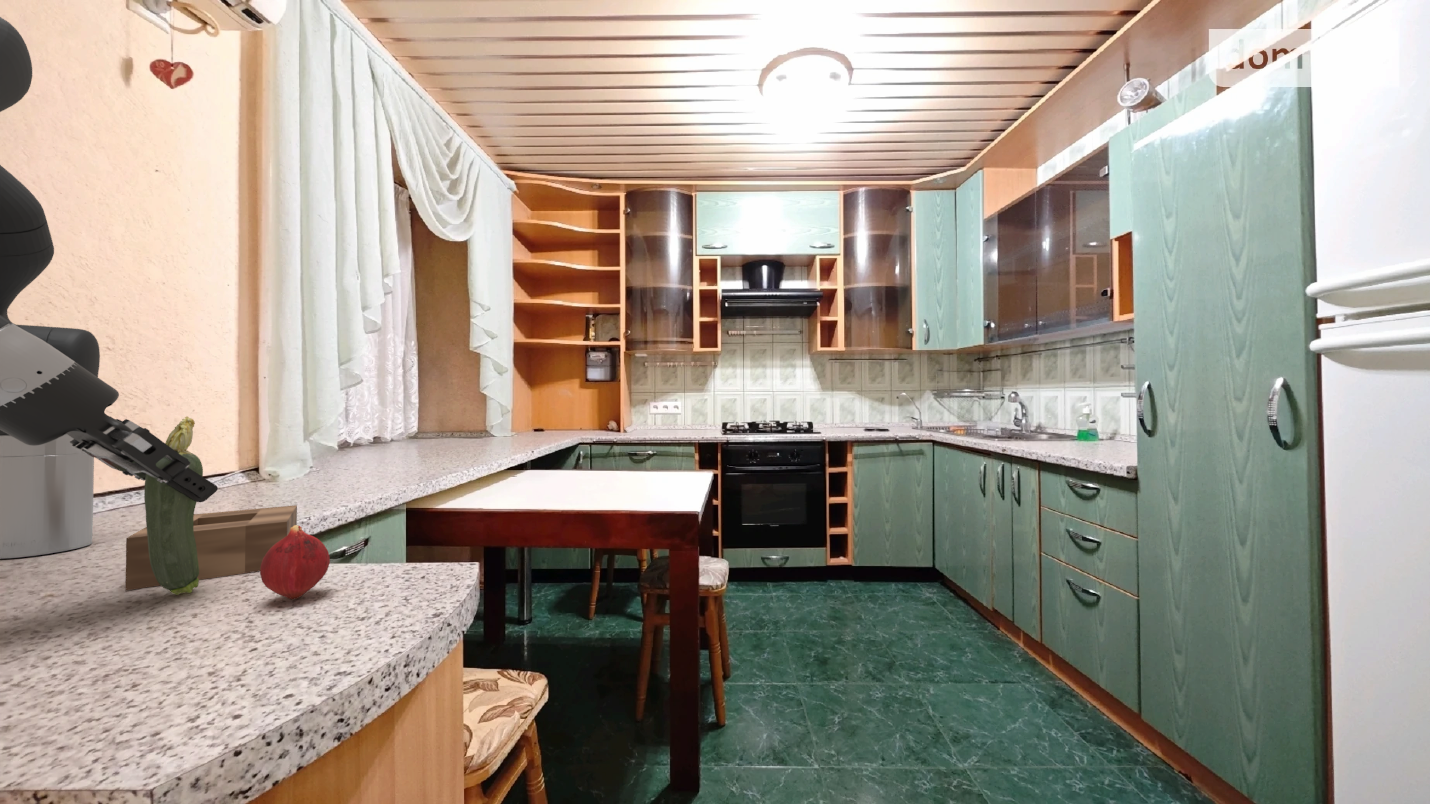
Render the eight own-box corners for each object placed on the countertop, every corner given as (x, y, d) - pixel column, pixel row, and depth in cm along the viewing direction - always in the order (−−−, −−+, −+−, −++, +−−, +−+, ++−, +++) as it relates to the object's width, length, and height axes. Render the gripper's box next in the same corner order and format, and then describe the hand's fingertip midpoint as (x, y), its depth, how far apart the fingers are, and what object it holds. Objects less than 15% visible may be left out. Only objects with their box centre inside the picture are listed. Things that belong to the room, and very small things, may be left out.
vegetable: (159, 605, 52) (165, 417, 52) (129, 601, 53) (134, 416, 53) (210, 590, 56) (215, 416, 56) (181, 587, 57) (186, 415, 57)
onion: (340, 594, 55) (341, 522, 55) (277, 613, 50) (278, 534, 50) (311, 586, 58) (312, 518, 58) (248, 603, 52) (249, 528, 52)
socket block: (163, 560, 68) (164, 516, 68) (296, 543, 76) (296, 505, 76) (125, 590, 56) (126, 538, 56) (286, 567, 65) (287, 521, 65)
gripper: (95, 355, 45) (260, 471, 56) (46, 362, 51) (203, 465, 62) (-8, 413, 40) (194, 528, 51) (-48, 413, 46) (140, 516, 57)
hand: (198, 493), depth 56 cm, fingers closed on vegetable, 4 cm apart
